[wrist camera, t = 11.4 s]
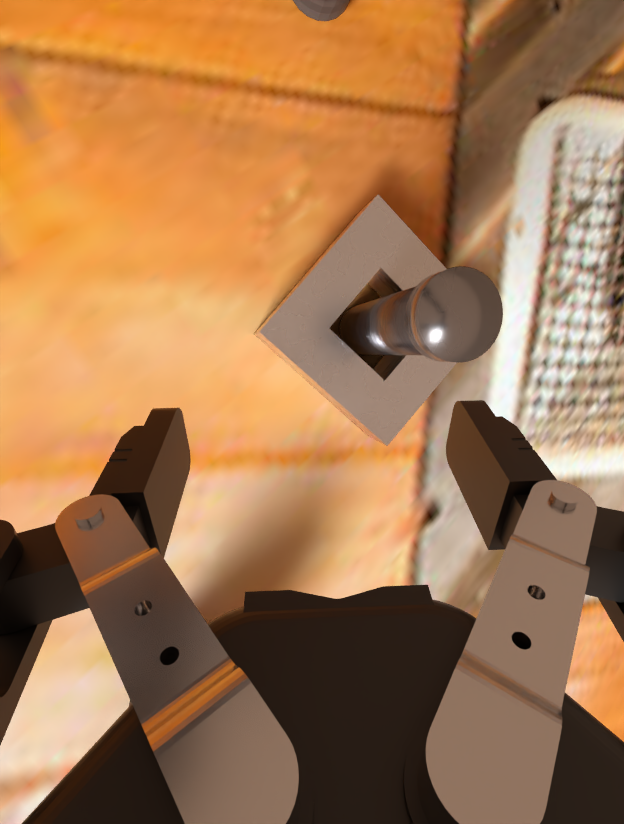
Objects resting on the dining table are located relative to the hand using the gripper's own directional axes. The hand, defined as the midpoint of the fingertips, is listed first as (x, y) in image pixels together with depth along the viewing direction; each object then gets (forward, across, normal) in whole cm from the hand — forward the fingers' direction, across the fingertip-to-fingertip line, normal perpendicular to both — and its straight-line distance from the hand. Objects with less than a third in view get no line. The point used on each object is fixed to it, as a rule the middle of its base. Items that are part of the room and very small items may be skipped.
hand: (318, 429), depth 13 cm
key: (+21, -5, +6) cm, 23 cm away
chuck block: (+21, -5, +6) cm, 23 cm away
